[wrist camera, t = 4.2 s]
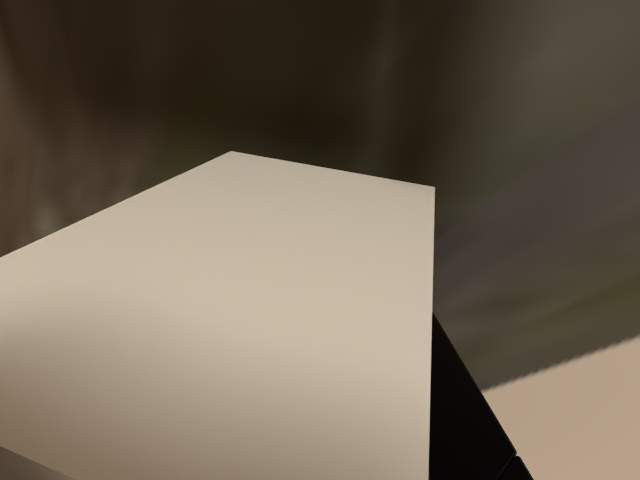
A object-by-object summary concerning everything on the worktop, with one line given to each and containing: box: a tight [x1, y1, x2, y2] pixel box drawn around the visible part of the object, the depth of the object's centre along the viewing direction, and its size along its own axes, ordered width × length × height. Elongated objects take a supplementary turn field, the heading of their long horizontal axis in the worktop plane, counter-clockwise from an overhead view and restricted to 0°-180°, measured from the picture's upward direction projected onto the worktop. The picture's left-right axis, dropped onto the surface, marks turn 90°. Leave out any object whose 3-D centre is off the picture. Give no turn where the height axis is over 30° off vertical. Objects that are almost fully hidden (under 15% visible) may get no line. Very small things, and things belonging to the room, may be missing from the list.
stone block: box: [0, 151, 435, 480], centre depth 6 cm, size 5×5×7 cm
